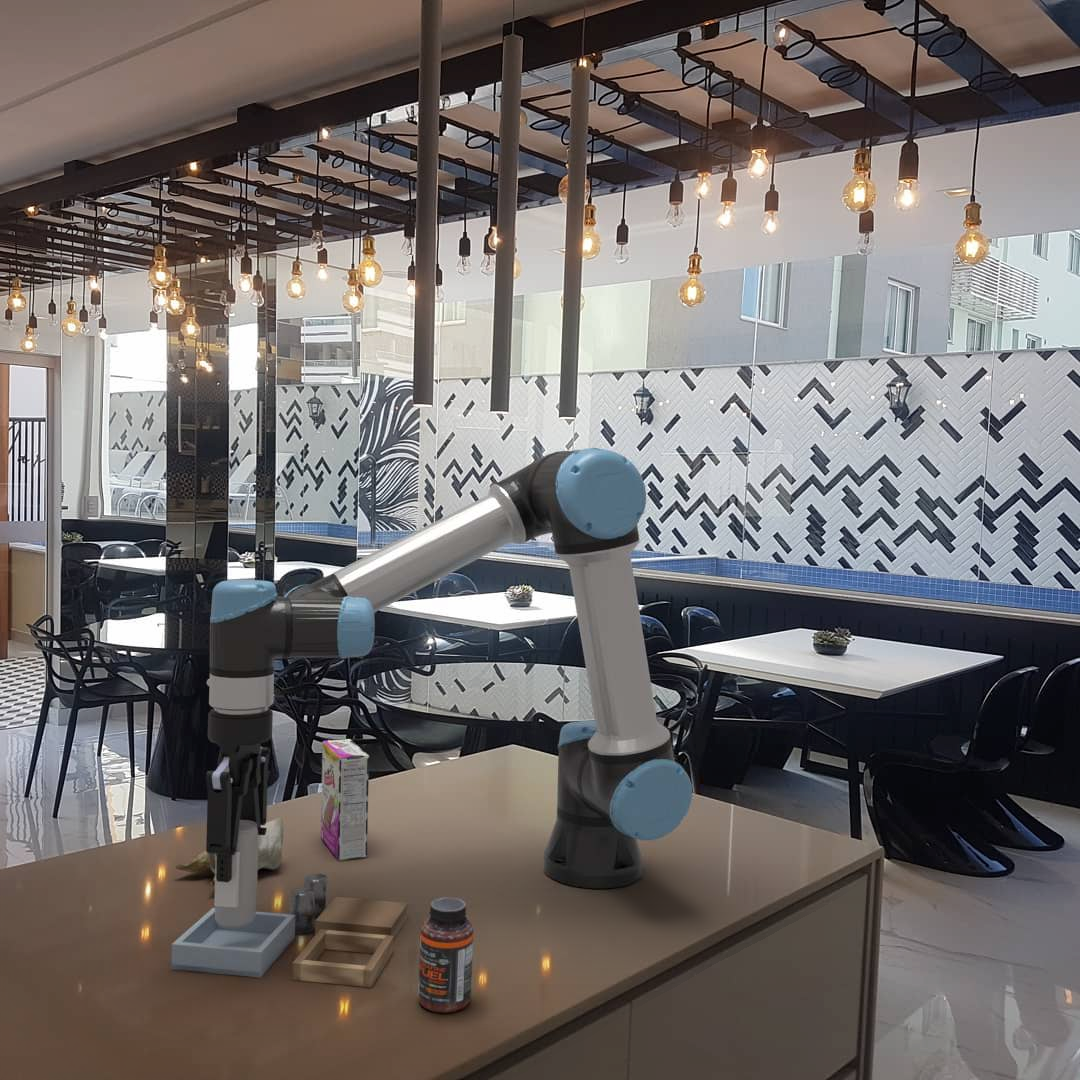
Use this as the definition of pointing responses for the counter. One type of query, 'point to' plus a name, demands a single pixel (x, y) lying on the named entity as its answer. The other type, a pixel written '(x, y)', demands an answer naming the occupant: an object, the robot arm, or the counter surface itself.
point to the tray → (233, 945)
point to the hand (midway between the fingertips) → (236, 896)
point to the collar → (338, 972)
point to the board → (363, 916)
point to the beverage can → (243, 881)
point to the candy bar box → (344, 799)
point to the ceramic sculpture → (266, 852)
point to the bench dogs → (309, 902)
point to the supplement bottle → (446, 957)
